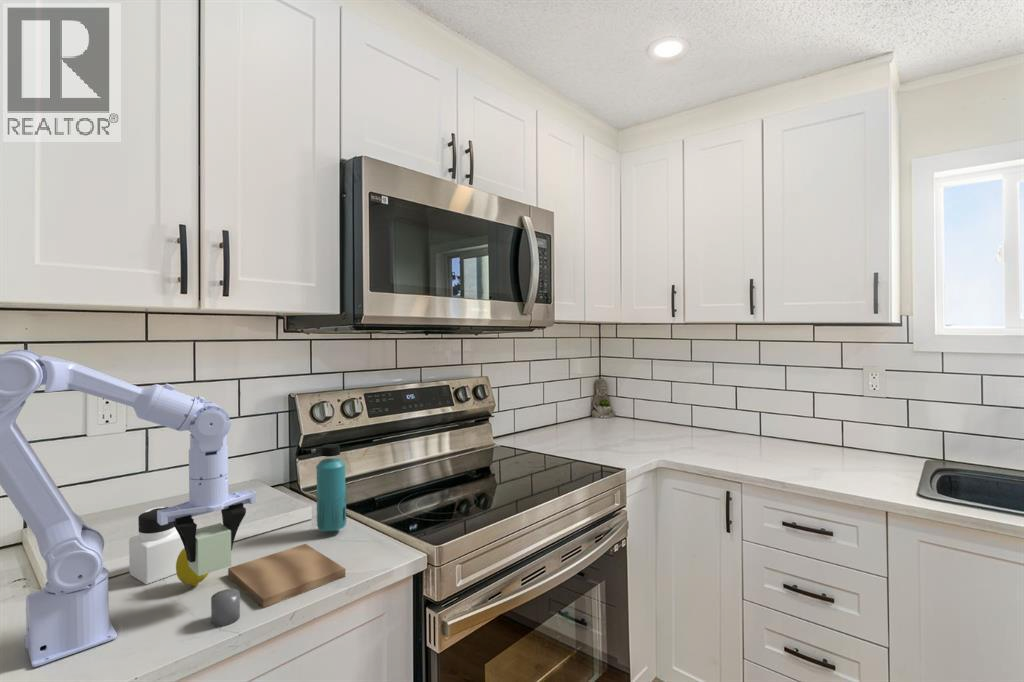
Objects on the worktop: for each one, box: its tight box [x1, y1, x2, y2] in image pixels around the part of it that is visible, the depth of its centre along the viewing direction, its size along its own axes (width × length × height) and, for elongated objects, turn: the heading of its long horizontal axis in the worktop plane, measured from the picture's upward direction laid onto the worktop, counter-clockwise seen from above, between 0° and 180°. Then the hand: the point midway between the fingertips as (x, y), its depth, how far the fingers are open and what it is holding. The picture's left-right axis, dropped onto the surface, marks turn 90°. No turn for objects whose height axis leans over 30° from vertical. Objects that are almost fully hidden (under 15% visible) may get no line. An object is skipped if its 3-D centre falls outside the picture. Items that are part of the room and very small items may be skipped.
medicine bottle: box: [128, 506, 184, 585], centre depth 100 cm, size 7×7×12 cm
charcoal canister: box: [210, 588, 241, 628], centre depth 84 cm, size 4×4×4 cm
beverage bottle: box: [315, 443, 348, 532], centre depth 119 cm, size 6×7×20 cm
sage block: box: [189, 522, 232, 576], centre depth 89 cm, size 5×5×6 cm
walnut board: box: [227, 543, 346, 609], centre depth 99 cm, size 15×16×2 cm
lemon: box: [176, 548, 210, 587], centre depth 95 cm, size 6×6×8 cm
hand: (209, 554), depth 89 cm, fingers closed on sage block, 5 cm apart
